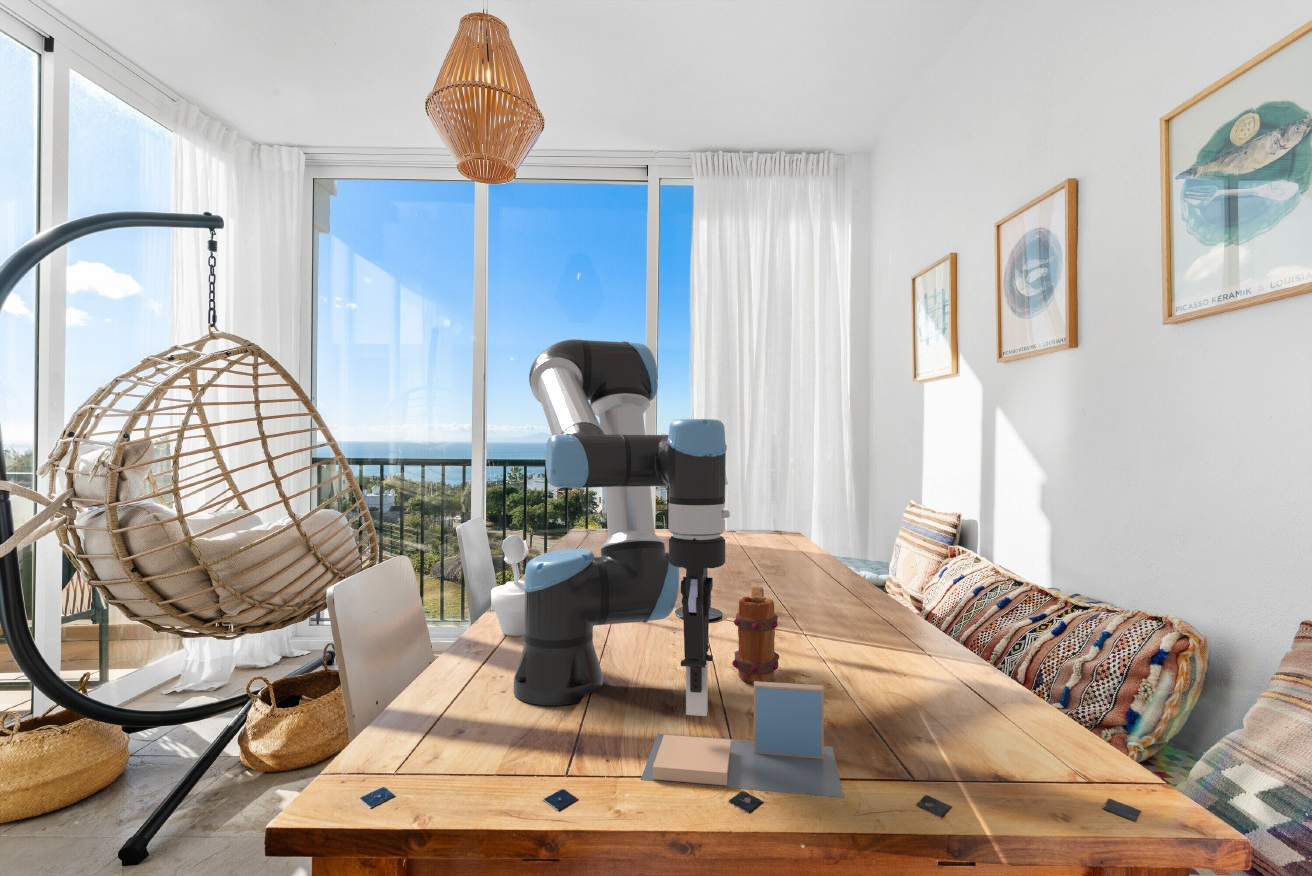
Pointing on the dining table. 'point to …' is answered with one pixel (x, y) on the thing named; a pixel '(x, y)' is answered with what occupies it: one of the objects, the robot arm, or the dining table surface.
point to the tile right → (789, 719)
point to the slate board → (770, 771)
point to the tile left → (693, 760)
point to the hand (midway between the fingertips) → (696, 713)
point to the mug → (756, 638)
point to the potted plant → (511, 590)
